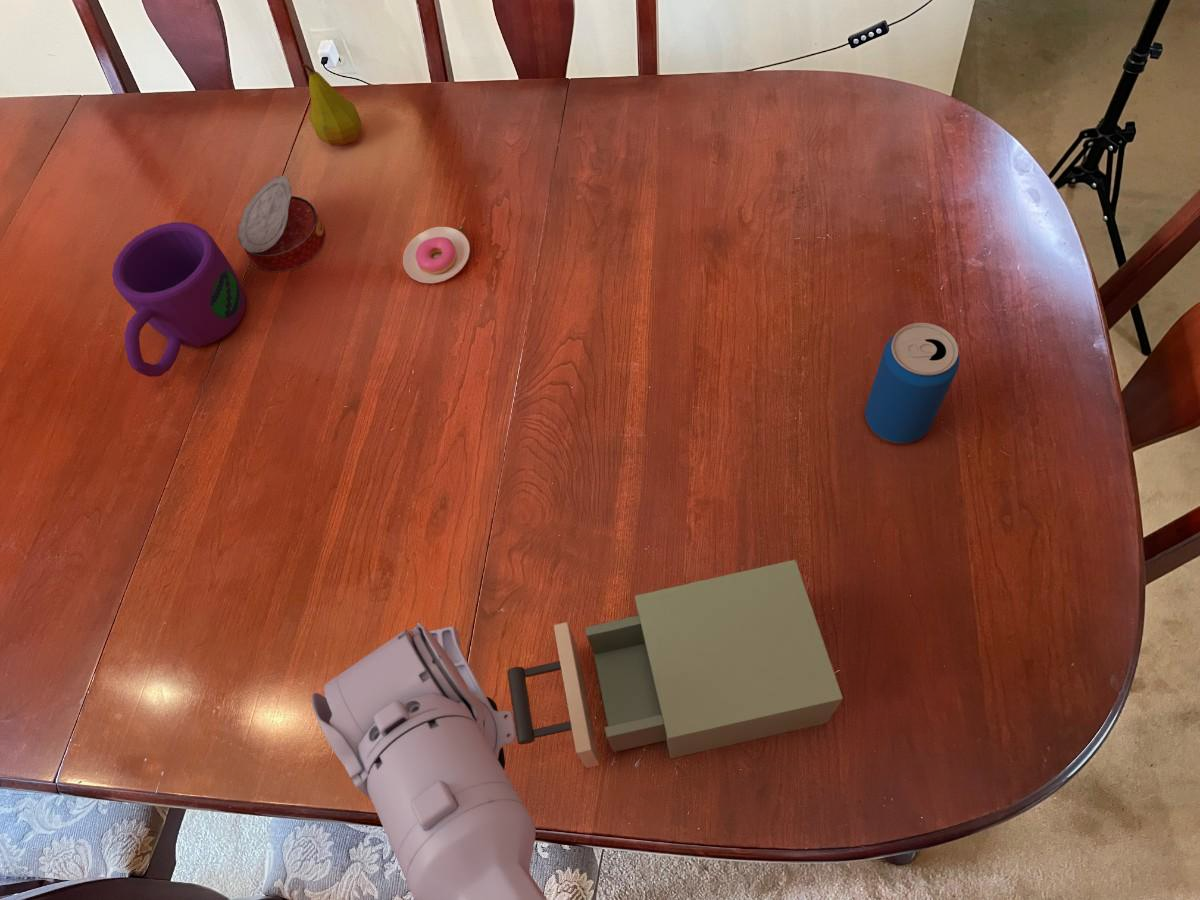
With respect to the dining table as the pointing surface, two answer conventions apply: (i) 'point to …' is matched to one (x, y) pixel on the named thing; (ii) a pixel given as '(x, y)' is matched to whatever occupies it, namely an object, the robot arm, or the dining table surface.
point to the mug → (176, 291)
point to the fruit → (331, 112)
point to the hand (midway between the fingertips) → (477, 753)
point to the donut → (436, 254)
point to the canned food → (280, 228)
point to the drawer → (620, 684)
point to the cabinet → (737, 658)
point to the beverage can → (911, 382)
